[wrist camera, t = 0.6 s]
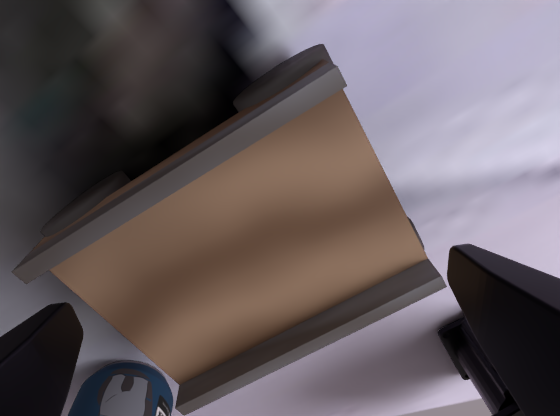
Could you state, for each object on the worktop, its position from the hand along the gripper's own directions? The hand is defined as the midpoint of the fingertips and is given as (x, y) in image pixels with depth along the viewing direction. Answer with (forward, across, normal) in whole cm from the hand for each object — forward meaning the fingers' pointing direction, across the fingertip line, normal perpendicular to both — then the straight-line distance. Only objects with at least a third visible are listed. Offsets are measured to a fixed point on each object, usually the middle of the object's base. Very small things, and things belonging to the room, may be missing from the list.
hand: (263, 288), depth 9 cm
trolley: (+14, +2, +5) cm, 15 cm away
